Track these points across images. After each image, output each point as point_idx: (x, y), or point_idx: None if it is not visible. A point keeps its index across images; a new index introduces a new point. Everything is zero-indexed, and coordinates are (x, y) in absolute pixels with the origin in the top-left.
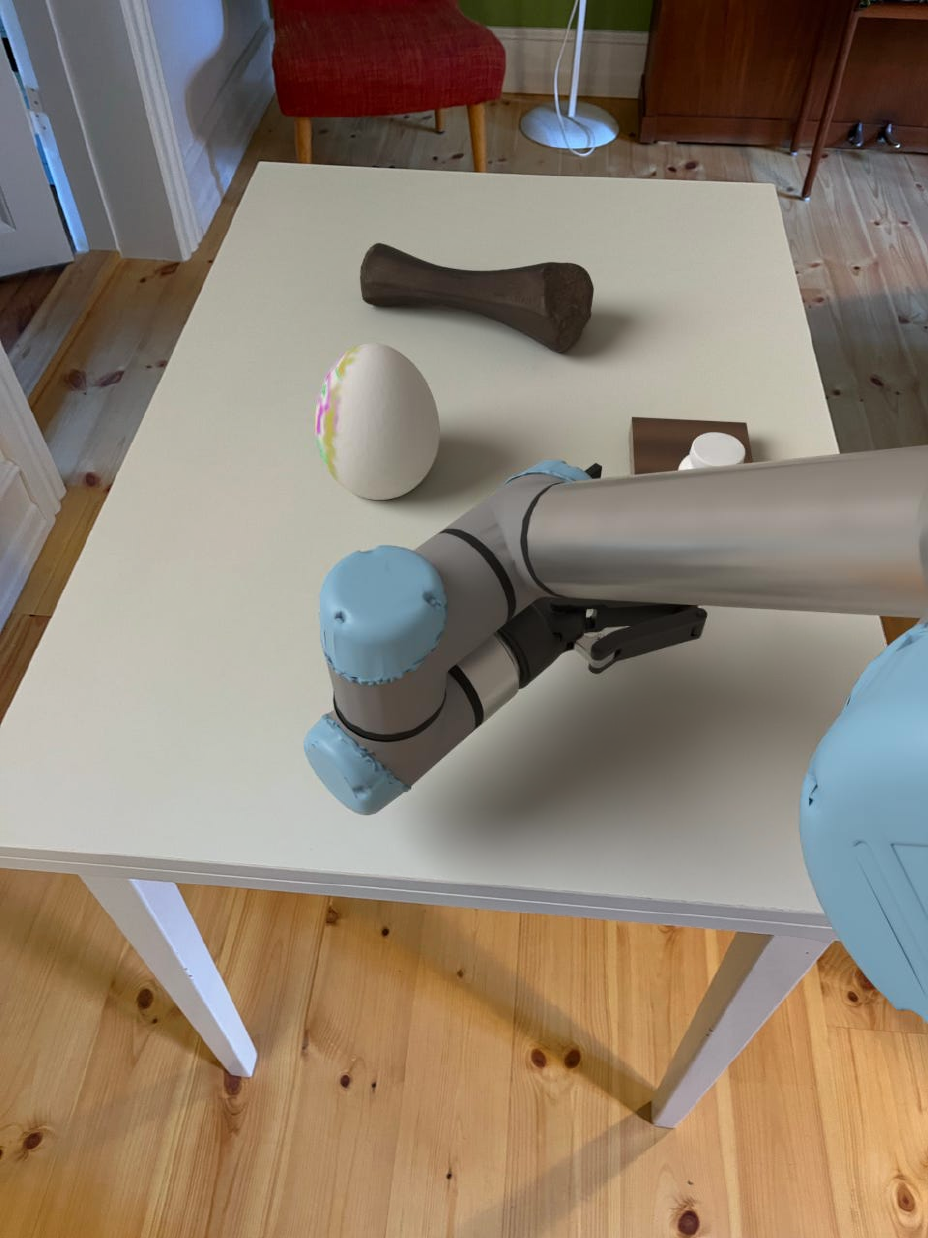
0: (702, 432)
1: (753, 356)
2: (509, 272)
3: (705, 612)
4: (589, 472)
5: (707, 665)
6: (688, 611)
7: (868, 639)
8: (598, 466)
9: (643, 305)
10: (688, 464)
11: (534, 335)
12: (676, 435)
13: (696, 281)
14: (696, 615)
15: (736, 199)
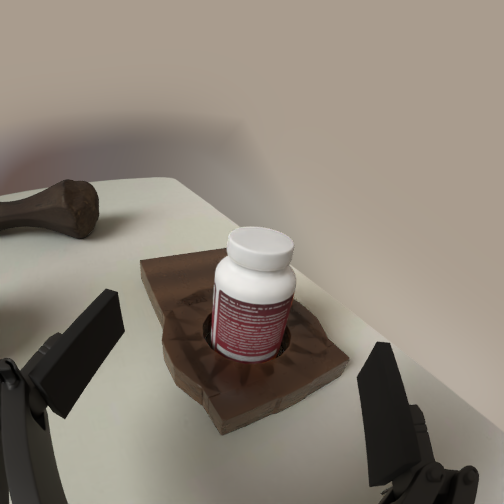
0: (201, 259)
1: (203, 222)
2: (44, 190)
3: (473, 468)
4: (98, 306)
5: (358, 480)
6: (457, 490)
7: (417, 366)
8: (111, 293)
9: (130, 212)
10: (229, 268)
11: (61, 226)
12: (182, 265)
13: (156, 201)
14: (469, 484)
15: (162, 179)
